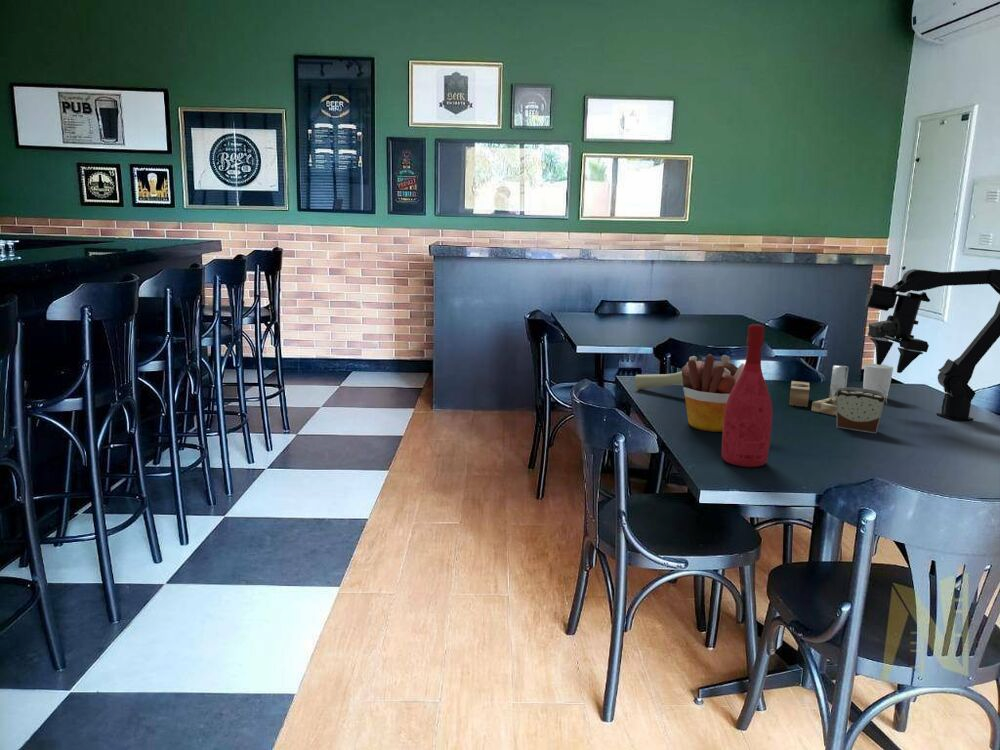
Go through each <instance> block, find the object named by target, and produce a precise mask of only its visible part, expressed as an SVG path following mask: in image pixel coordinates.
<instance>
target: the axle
mask: <svg viewBox="0 0 1000 750" xmlns="http://www.w3.org/2000/svg"><path fill="white" fill-rule="evenodd" d="M848 376H849V366H848V365H847V366H846V365H840V364H839V365H836V364H834V365H832V371H831V380H830V388H829V397H828V398H829V404H832V405H837V396H835V397H834V394H835V392H836V391H837V389H838V388H847V384H848Z"/></svg>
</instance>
